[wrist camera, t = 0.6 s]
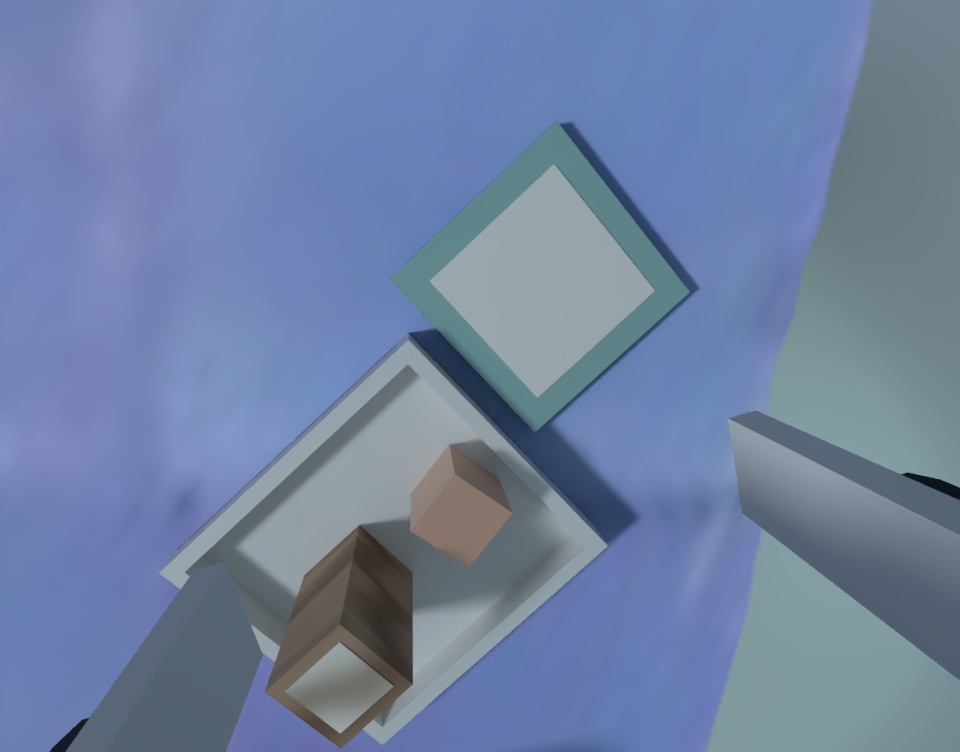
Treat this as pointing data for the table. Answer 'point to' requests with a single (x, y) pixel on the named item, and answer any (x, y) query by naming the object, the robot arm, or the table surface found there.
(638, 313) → the board
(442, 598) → the tray
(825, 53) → the table surface
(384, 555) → the walnut box
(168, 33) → the table surface
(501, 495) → the clay cube
